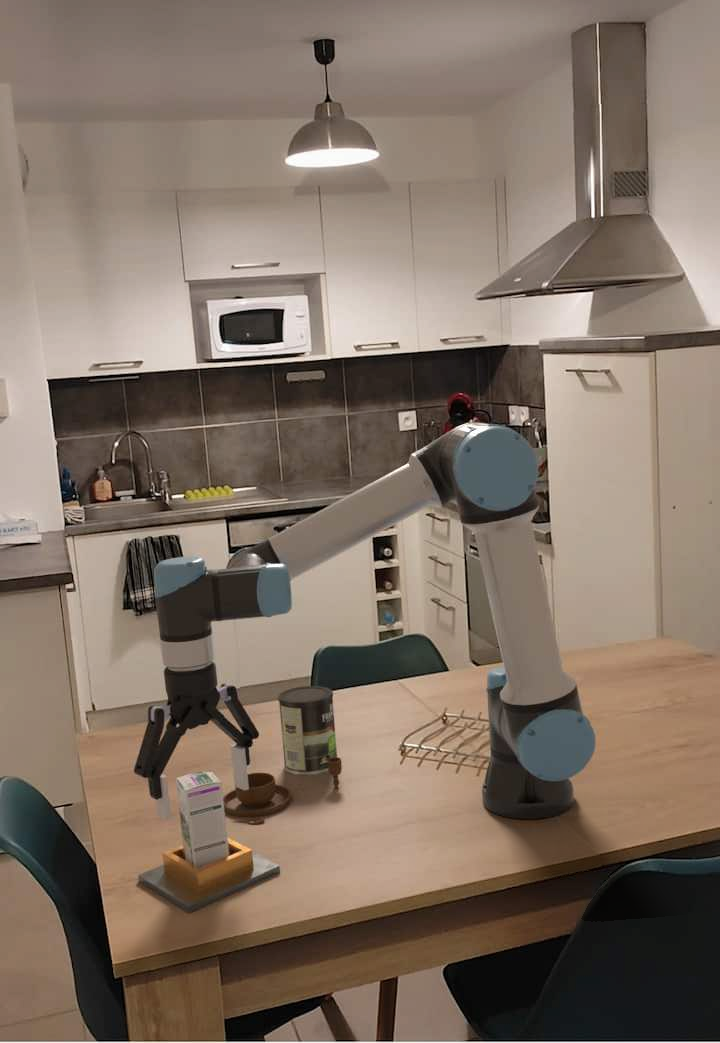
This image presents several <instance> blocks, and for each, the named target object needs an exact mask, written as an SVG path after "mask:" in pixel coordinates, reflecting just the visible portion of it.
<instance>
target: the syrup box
mask: <svg viewBox="0 0 720 1043" xmlns="http://www.w3.org/2000/svg"><path fill="white" fill-rule="evenodd" d="M175 779H176V780H175V782H176V792H177V801H178V809H179V810H178V811H179V819H180V826H181V827H180V828H181V838H182V845H183V847H184V856H185V861H187V862H189V863H191V864H192V865H194V866H196V867H198V868H199V869H200V868H202V867H204V866H207V865H209V864H211V863H214V862H216V861H218V860H221V859H223V858H225V857H228V856H229V847H228V838H229V837H228V830H227V822H226V811H225V809H224V803H223V798H224V796H223V788H222V786H223V785H222V781H221V780H220V779H218V777H217V776H216V774H214V773H213V771H212V770H209V769H208V770H202V771H197V772H193V773H192V772H191V773H188V774H186V775H181V776H178V777H176V778H175ZM227 837H228V838H227Z"/></svg>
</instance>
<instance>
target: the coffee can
mask: <svg viewBox="0 0 720 1043" xmlns="http://www.w3.org/2000/svg"><path fill="white" fill-rule="evenodd" d="M333 696H334V692H333V690H332V689H330V688H329V687H326V686H319V685H308V686H307V685H305V686H297V687H292V688H289V689H286V690H284V691H282V692H280V693H279V694H278V696H277V700H278V703H279V713H280V714H279V717H280V728H281V740H282V749H283V760H284V761H283V762H284V763H283V764H284V765H283V767H284V770H285V772H287V773H289V774H292V775H297V776H314V775H315V776H316V775H320V774H321V775H322V774H324V773H327V772H328V773H329V770H328V759H329V758H333V757H338V753H337V738H336V727H335V725H336V724H335V711H334V699H333Z"/></svg>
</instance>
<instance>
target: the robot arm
mask: <svg viewBox="0 0 720 1043" xmlns="http://www.w3.org/2000/svg"><path fill="white" fill-rule="evenodd" d="M538 477H539V462H538V458H537V455H536V452H535V450H534V449H533V447H532V445H531V444H530V443H529V441H528V440H527V439H526V438H525V437H524V436H522V435H521V433H519V432H517V431H516V430H514V429H512V428H511V427H508V426H507V425H506V426H505V425H502V424H496V423H488V422H482V421H471V422H466V423H463V424H461V425H458V426H455V427H454V428H453V429H450V430H449V431H447V432H446V433H445V434H443V435H441V436H440V437H439V438H437V439H435V440H434V441H432V442H430V443H428V444H427V445H426V446H424V447H422V448H421V449H418V450H416V451H415V452H412V453H411V454H410V456H409V459H408V462H407V463H406V464H404V465H403V466H400V467H399V468H397V469H395V470H393V471H391V472H389V473H387V474H385V475H384V476H382V477H379V479H376V480H375V481H373V482H371V483H368V484H367V485H365V486H364V487H361V488H359V489H357V490H356V491H354V492H352V493H350V494H348V495H347V496H345V497H343V498H341V499H339V500H337V501H336V502H334V503H331V504H329V505H328V506H326V507H323V509H320V510H319V511H316V512H315V513H313V514H311V515H310V516H308V517H306V518H304V519H302V520H300V521H299V522H297V523H295V524H293V525H290V526H289V527H288V528H285V529H283V530H282V531H279V532H278V533H276V534H274V535H272V536H270V537H268V538H267V539H266V540H263V541H261V542H259V543H258V544H256V545H254V546H250V547H244V548H243V547H242V548H241V549H239V550H237V551H236V552H235V553H233V555H231V557H230V559H229V560H228V562H227V564H226V568H221V569H220V568H219V569H208V568H207V566H206V563H205V560H204V559H203V558H202V557H199V556H178V557H172V558H168V559H164V560H161V561H159V562H158V563H157V564H156V566H155V567H154V569H153V580H154V581H153V582H154V583H153V584H154V600H155V606H156V616H157V621H158V624H157V625H158V630H159V639H160V640H159V641H160V647H161V658H162V664H163V666H165V667H164V669H163V677H164V685H165V686H164V687H165V692H166V696H167V703H166V705H161V706H155V705H149V707H148V709H147V710H148V711H147V714H148V715H147V716H148V717H147V718H148V719H147V725H146V729H145V731H144V735H143V737H142V742H141V745H140V749H139V752H138V755H137V757H136V758H137V759H136V761H135V765H134V769H133V773H134V774H135V775H137V776H140V778H141V777H142V778H143V779H147V782H148V790H149V796H150V797H151V798H152V799H154V800H155V807H156V808H155V809H156V816H157V817H158V818H160V819H162V820H164V821H166V822H168V821H170V820H172V812H171V800H170V794H169V787H168V786H169V785H168V775H165V774H164V773H163V772H164V771H165V768H166V767H167V765H168V763H169V760H170V759H171V757H172V756H173V753H174V751H175V749H176V747H177V746H178V744H179V741H180V740H181V738H182V737H183V736H184V735H186V732H187V730H188V729H189V730H194V729H195V728H197V727H200V726H205V725H208V724H209V722H210V721H211V722H212V723H213V724H214V725H215V726H216V727H217V728H218V729H220V730H221V731H222V732H223V733H224V734H225V735H227V736H228V738H229V739H230V740H232V741H233V742H234V744H231V745H230V754H231V764H232V765H231V766H232V773H233V774H232V776H233V784H234V788H235V787H238V788H240V789H242V790H248V789H249V785H248V775H247V774H248V766H249V765H251V756H250V748H251V747H252V746H253V743H254V742H253V740H256V739H258V738H259V736H260V732H259V731H258V729H257V728H256V725H255V724H254V723H253V721H252V720H251V718H250V716H249V715H248V712H247V711H246V709H245V708H244V705H242V703H241V701H240V699H239V697H238V696H239V695H238V692H237V687H236V686H235V685H232V684H228V683H221V685H220V687H218V688H217V686H218V676H217V666H216V663H215V661H214V659H215V658H216V653H215V652H216V651H215V646H214V638H213V637H214V636H213V628H212V623H213V622H223V621H235V620H244V619H255V618H256V619H257V618H271V617H274V616H279V615H285V614H288V613H290V612H291V610H292V608H293V599H292V597H293V596H292V588H291V581H292V580H294V579H296V578H298V577H300V576H301V575H303V574H305V573H307V572H309V571H310V570H313V569H314V568H317V567H319V566H320V565H323V564H324V563H326V562H328V561H331V559H333V558H335V557H337V556H339V555H340V554H343V553H345V552H347V551H348V550H350V549H352V548H353V547H355V546H358V545H360V544H361V543H363V542H365V541H367V540H368V539H371V538H372V537H375V536H376V535H378V534H380V533H382V532H384V531H385V530H386V531H387V529H389V528H391V527H393V526H394V525H396V524H399V523H400V522H402V521H404V520H406V519H408V518H410V517H412V516H414V515H415V514H417V513H420V512H421V511H422V510H424V509H426V508H428V507H436V508H438V509H439V508H442V507H444V506H445V505H447V504H450V503H451V502H454V501H456V506H457V510H458V515H459V517H460V518H459V519H460V523H461V525H462V526H463V527H465V528H467V529H468V530H469V531H472V533H474V534H473V535H474V539H475V543H476V547H477V548H476V549H477V551H478V557H479V561H480V562H479V563H480V566H481V571H482V575H483V580H484V584H485V589H486V593H487V597H488V601H489V602H488V603H489V606H490V611H491V616H492V620H493V625H494V629H495V634H496V637H497V641H498V647H499V651H500V656H501V660H502V665H503V666H500V667H496V668H494V669H492V670H490V672H488V674H487V676H486V677H487V678H486V687H485V690H486V692H487V693H486V695H487V696H486V697H487V711H488V728H489V729H488V730H489V732H488V733H489V746H490V748H489V749H490V757H489V763H488V766H487V770H486V773H485V777H484V782H483V783H482V788H481V793H482V794H481V795H482V799H481V800H482V804H483V805H484V807H485V808H486V809H487V810H489V811H490V812H492V813H493V814H496V815H499V816H502V817H506V818H511V819H519V820H537V819H544V818H545V819H547V818H550V817H554V816H557V815H560V814H562V813H564V812H567V811H568V810H569V809H571V807H572V806H573V804H574V802H575V801H574V800H575V797H574V796H575V795H574V793H575V792H574V787H573V783H572V781H571V780H570V778H573V777H575V776H577V775H578V774H580V773H581V772H582V771H583V770H584V769H585V768H586V766H587V765H588V764H589V762H590V761H591V760H592V758H593V755H594V753H595V750H596V742H597V741H596V740H597V739H596V734H595V730H594V728H593V726H592V724H591V721H590V720H589V718H588V717H587V716H585V715H584V712H583V708H582V704H581V700H580V699H581V698H580V695H579V690H578V686H577V685H578V684H577V682H576V679H575V678H574V677H573V676H572V675H570V674H568V673H567V672H566V671H564V669H563V664H562V659H561V655H560V649H559V645H558V641H557V640H558V639H557V635H556V632H555V625H554V621H553V616H552V612H551V607H550V604H549V597H548V593H547V589H546V584H545V578H544V574H543V570H542V565H541V562H540V561H541V560H540V556H539V551H538V547H537V543H536V542H537V541H536V538H535V533H534V528H533V523H532V519H533V518H534V516H535V515H536V513H537V512H538V510H539V508H540V505H539V500H538V496H537V491H536V484H537V482H538ZM220 700H221V701H223V703H224V704H225V706H226V708H227V709H228V711H229V712H230V713H231V716H232V718H233V719H234V720H235V722H236V723H237V725H238V727H239V728H237V727H236V726H235V725H234V724H233V723H232V722H231V721H230V720H228V718H226V717H225V715H224V714H223V713H222V712H221V711H219V710H218V709H217V707H218V705H219V702H220ZM168 715H169V716H170V718H169V720H168ZM167 720H168V722H167ZM165 722H167V724H166V726H165ZM177 725H178V726H177ZM164 726H165V732H164V734H163V731H164ZM241 731H242V732H241ZM162 734H163V735H162ZM161 737H162V738H161Z"/></svg>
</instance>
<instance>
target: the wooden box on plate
mask: <svg viewBox="0 0 720 1043" xmlns="http://www.w3.org/2000/svg"><path fill="white" fill-rule="evenodd" d="M227 838H228V847H229V856H228V857H225V858H223V859H221V860H218V861H216V862H214V863H211V864H209V865H207V866H204V867H202V868H200V869H199V868H198V867H196V866H194V865H192V864H191V863H189V862H187V861H185V856H184V847H183V844H182V845H179V846H177V847H174V848H172V849H169V850H166V851H164V852H162V854H161V855H162V862H163V864H161V865H159V866H156V867H154V868H152V869H149V870H147V871H145V872H142V873H139V874H138V876H137V877H138V878H137V879H138V882H139V883H141V884H142V885H144V886H146V887H147V888H149V889H150V890H152V891H153V892H155V893H156V894H158V895H159V896H162V898H165V899H166V900H168V901H169V902H171V903H173V904H174V905H176V906H177V907H179V908H180V909H182V910H183V911H185V912H186V913H188V914H190V913H192V912H195V911H197V910H200V909H201V908H203V907H206V906H208V905H210V904H212V903H215V902H216V901H219V900H222V899H223V898H226V897H228V896H231V895H232V894H235V893H237V892H239V891H242V890H243V889H245V888H248V887H251V886H252V885H255V884H256V883H259V882H262V881H263V880H266V879H268V878H271V877H272V876H274V875H277V874H279V873H281V867H280V865H279V864H277V863H275V862H273V861H271V860H269V859H267V858H265V857H264V856H262V855H260V854H258V853H256V852H253V850H252V849H251V848H249V847H247V846H245V845H243V844H241V843H239V842H237V841H236V840H234V839H232V838H229V837H228V836H227Z"/></svg>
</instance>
